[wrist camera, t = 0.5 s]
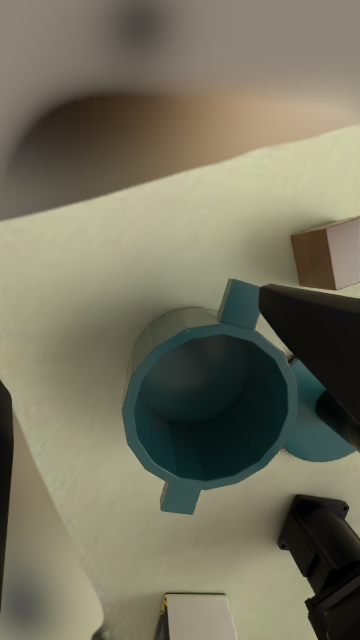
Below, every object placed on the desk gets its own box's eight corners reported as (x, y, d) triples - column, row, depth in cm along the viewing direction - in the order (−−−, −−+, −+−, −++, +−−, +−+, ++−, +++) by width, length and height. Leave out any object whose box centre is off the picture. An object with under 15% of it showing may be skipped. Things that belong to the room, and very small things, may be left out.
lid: (399, 355, 27) (478, 383, 21) (353, 463, 29) (413, 518, 23) (291, 325, 25) (343, 345, 19) (249, 444, 27) (283, 499, 20)
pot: (279, 296, 24) (337, 309, 17) (223, 460, 27) (253, 531, 20) (156, 260, 22) (163, 256, 15) (107, 441, 25) (94, 512, 18)
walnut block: (338, 220, 24) (384, 209, 19) (346, 271, 25) (391, 272, 20) (290, 235, 23) (325, 228, 19) (300, 286, 24) (335, 290, 20)
